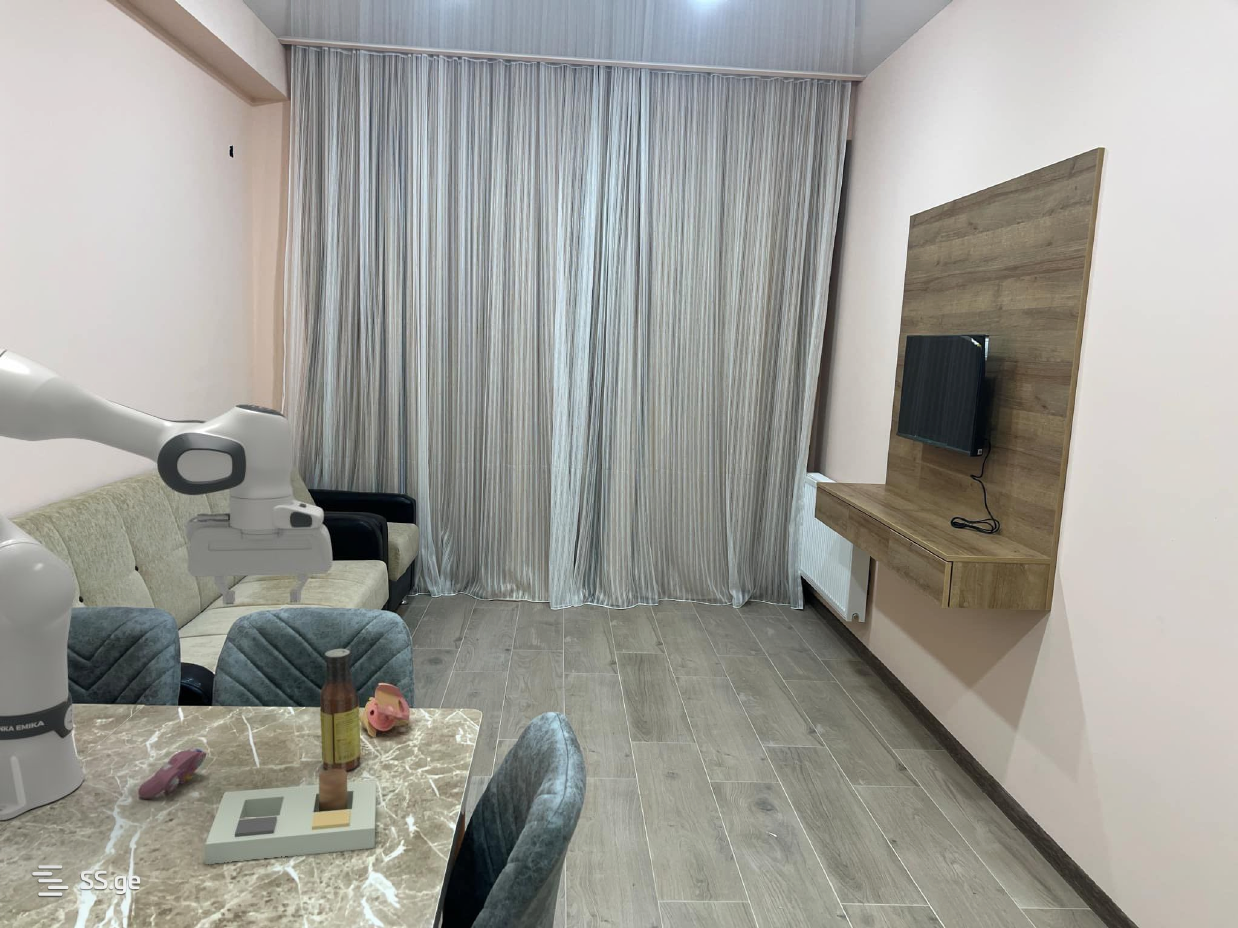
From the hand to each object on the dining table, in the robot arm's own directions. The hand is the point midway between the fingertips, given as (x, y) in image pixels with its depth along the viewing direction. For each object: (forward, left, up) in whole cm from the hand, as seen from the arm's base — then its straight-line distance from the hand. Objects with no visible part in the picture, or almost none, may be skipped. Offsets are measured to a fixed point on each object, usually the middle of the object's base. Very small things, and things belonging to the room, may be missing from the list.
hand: (262, 602), depth 131 cm
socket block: (+6, -11, -31) cm, 34 cm away
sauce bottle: (+11, +8, -31) cm, 34 cm away
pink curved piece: (-14, +5, -31) cm, 35 cm away
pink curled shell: (+19, +21, -31) cm, 42 cm away
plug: (+11, -9, -31) cm, 34 cm away
